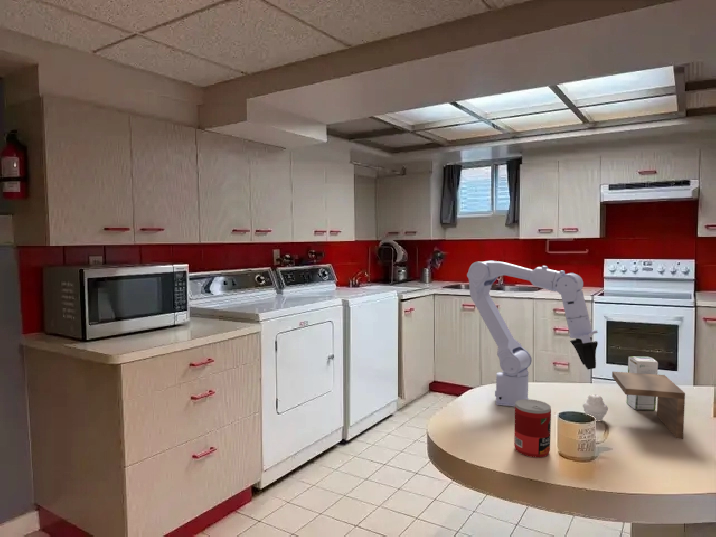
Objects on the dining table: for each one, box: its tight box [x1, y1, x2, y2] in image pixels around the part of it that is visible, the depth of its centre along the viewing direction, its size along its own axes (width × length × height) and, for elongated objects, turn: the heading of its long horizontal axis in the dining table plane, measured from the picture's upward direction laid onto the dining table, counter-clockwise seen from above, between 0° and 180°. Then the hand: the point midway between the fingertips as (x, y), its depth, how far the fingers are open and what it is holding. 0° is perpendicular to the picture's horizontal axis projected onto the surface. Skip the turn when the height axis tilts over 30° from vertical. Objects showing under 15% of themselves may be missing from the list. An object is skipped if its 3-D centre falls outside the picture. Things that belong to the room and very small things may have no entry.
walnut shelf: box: [611, 371, 686, 440], centre depth 130 cm, size 13×16×12 cm
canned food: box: [513, 398, 552, 459], centre depth 114 cm, size 8×8×11 cm
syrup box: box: [625, 355, 659, 411], centre depth 142 cm, size 6×6×14 cm
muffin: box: [582, 394, 609, 421], centre depth 133 cm, size 6×6×7 cm
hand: (589, 366), depth 133 cm, fingers open, 7 cm apart
